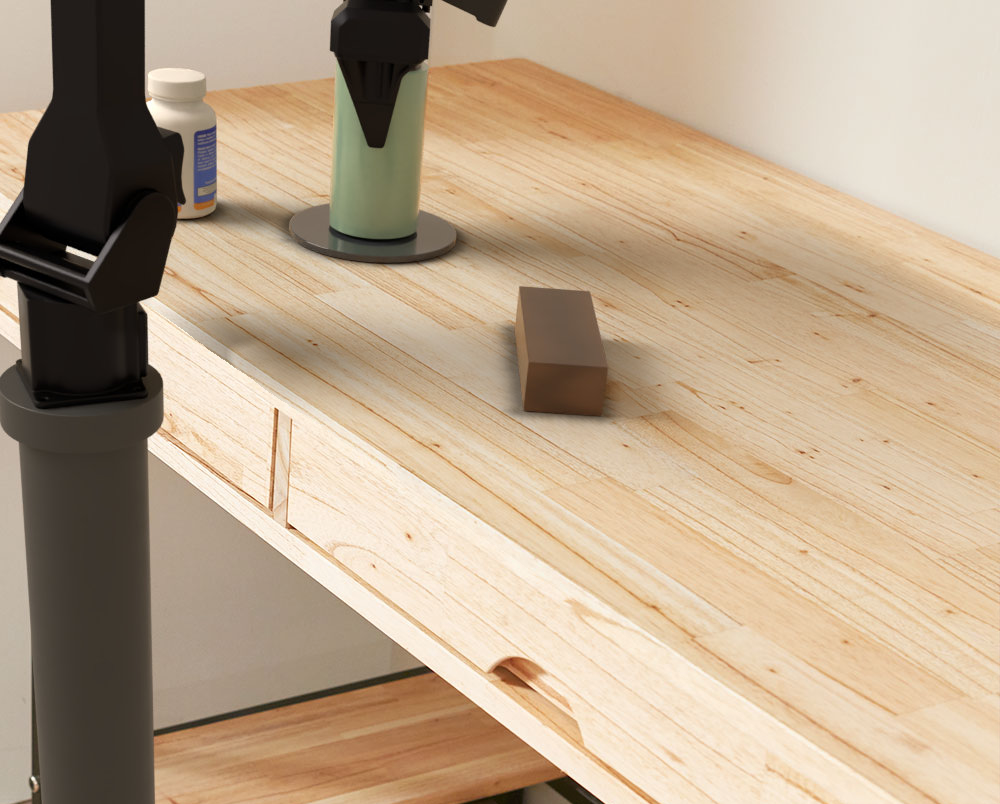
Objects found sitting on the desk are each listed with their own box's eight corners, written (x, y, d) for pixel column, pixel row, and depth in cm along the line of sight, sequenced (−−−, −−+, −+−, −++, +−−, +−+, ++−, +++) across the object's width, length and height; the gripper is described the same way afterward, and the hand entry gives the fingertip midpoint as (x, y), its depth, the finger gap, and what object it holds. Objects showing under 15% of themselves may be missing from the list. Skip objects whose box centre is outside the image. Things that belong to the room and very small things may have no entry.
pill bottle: (205, 195, 115) (204, 64, 111) (226, 218, 111) (226, 82, 107) (132, 199, 113) (129, 65, 109) (151, 222, 109) (148, 84, 104)
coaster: (323, 268, 104) (323, 261, 104) (266, 212, 113) (266, 206, 113) (483, 256, 109) (483, 250, 109) (416, 203, 118) (417, 197, 118)
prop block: (523, 411, 87) (528, 361, 85) (514, 330, 97) (519, 285, 96) (602, 416, 87) (608, 367, 86) (584, 335, 97) (590, 290, 96)
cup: (244, 147, 104) (383, 25, 101) (254, 123, 110) (386, 6, 107) (369, 281, 109) (505, 169, 106) (372, 251, 115) (502, 143, 111)
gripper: (520, -71, 93) (496, 182, 100) (508, -109, 109) (489, 110, 116) (334, -88, 92) (324, 168, 99) (350, -124, 108) (341, 98, 116)
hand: (377, 134), depth 108 cm, fingers closed on cup, 6 cm apart
